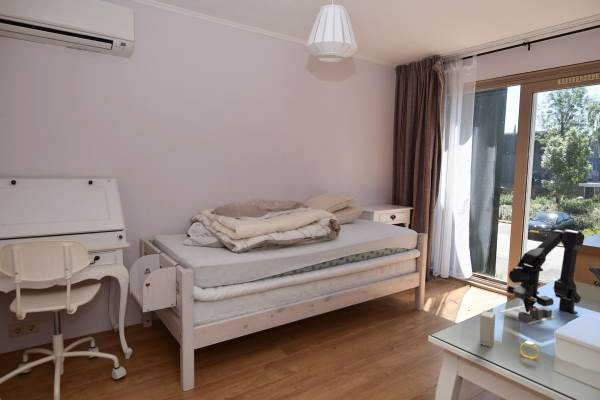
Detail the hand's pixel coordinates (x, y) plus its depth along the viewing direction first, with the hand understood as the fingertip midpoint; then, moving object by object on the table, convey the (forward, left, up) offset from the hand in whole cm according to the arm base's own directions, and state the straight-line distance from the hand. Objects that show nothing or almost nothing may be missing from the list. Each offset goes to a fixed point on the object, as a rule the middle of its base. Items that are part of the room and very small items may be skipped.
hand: (527, 312), depth 171 cm
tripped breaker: (0, +4, -1) cm, 4 cm away
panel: (0, 0, -2) cm, 2 cm away
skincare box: (+38, +10, -3) cm, 39 cm away
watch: (+33, +24, -3) cm, 41 cm away
